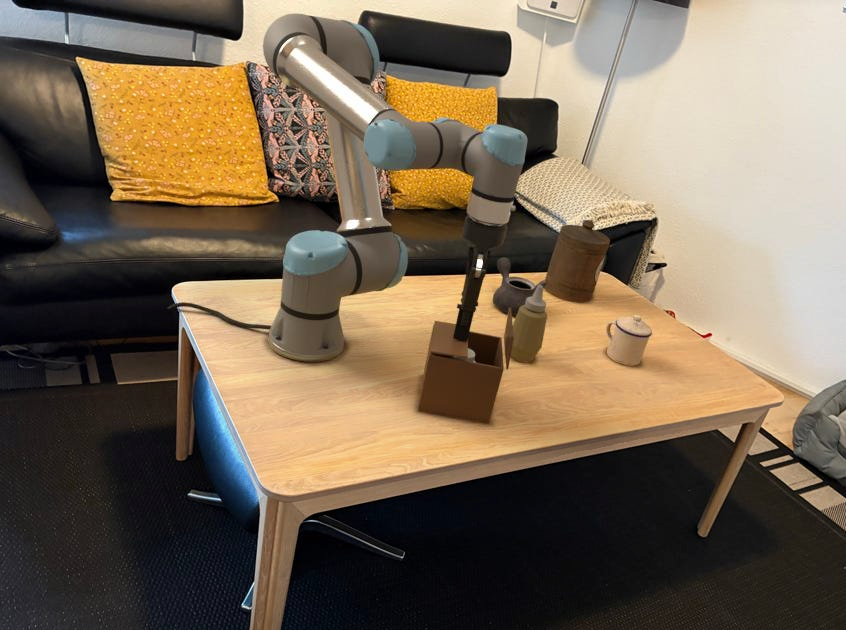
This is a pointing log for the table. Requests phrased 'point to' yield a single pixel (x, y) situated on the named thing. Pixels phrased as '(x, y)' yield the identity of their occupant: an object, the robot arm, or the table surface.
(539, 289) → the squeeze bottle
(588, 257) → the wooden container
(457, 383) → the carton
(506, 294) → the teapot
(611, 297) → the table surface
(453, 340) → the flap
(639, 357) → the teacup with lid
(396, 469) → the table surface
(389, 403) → the table surface
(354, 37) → the robot arm
